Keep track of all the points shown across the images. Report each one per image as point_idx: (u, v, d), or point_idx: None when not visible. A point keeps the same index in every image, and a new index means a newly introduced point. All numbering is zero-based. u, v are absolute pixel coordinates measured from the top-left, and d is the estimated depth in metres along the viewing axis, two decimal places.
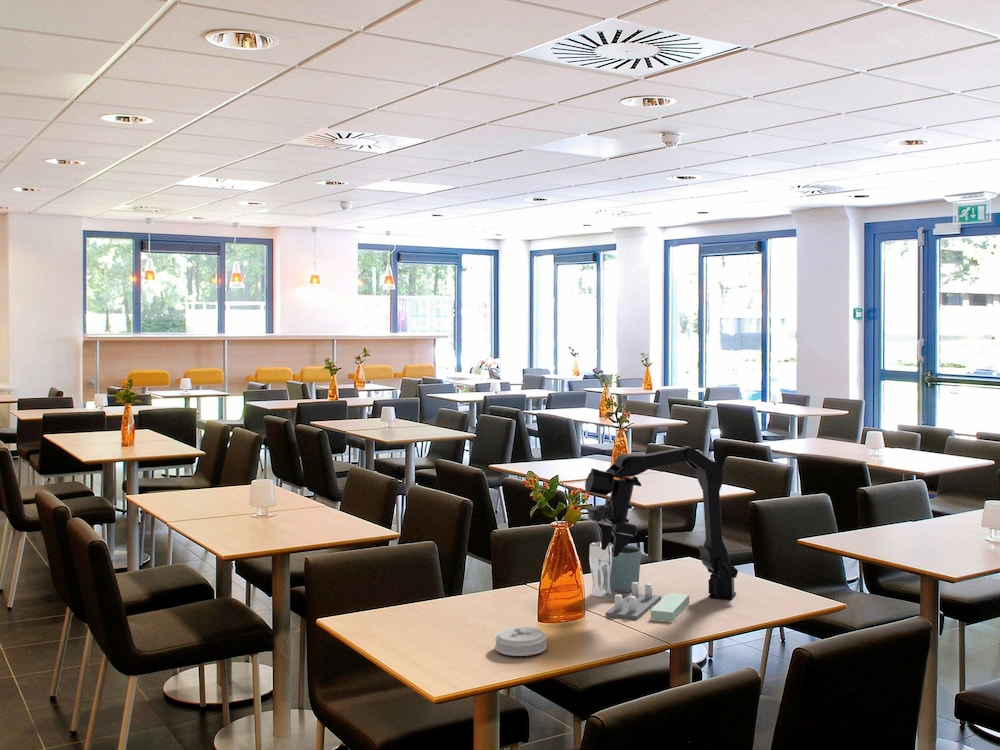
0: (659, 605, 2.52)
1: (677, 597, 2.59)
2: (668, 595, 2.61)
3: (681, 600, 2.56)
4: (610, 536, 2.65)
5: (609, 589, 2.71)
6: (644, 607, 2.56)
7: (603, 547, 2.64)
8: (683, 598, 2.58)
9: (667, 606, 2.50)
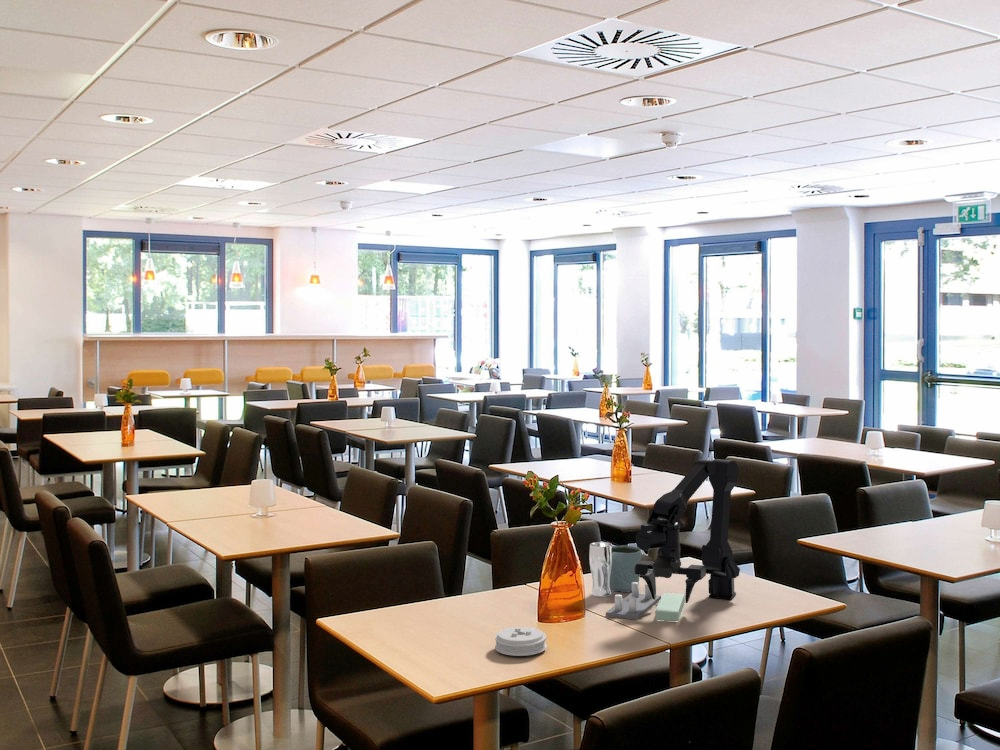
0: (661, 605, 2.52)
1: (675, 597, 2.59)
2: (664, 595, 2.61)
3: (680, 599, 2.57)
4: (655, 583, 2.58)
5: (609, 589, 2.71)
6: (644, 607, 2.56)
7: (654, 597, 2.56)
8: (681, 597, 2.59)
9: (670, 607, 2.50)
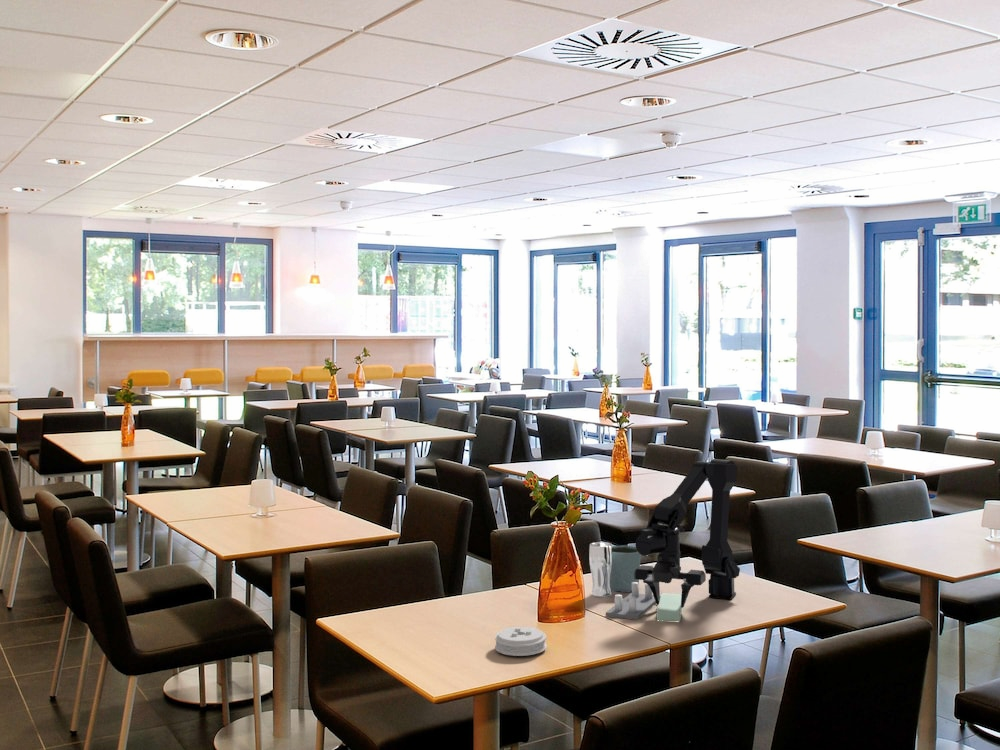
0: (662, 606, 2.51)
1: (674, 597, 2.59)
2: (663, 595, 2.61)
3: (679, 600, 2.57)
4: (658, 588, 2.57)
5: (609, 589, 2.71)
6: (644, 607, 2.56)
7: (658, 602, 2.56)
8: (680, 598, 2.59)
9: (671, 607, 2.50)
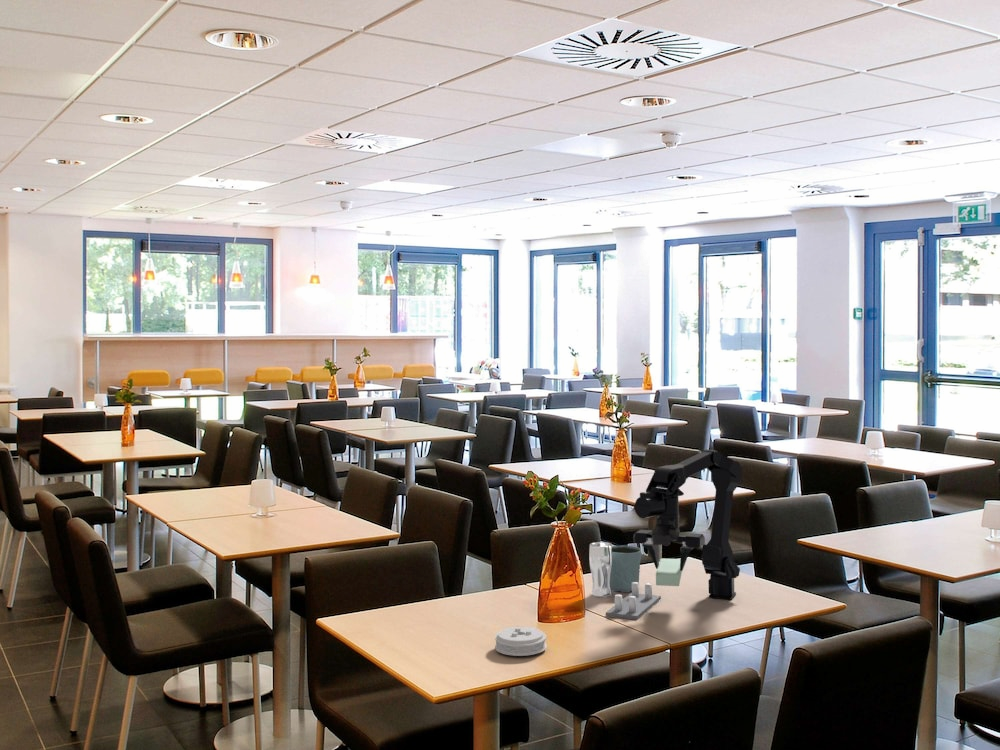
0: (661, 569, 2.51)
1: (673, 562, 2.59)
2: (662, 560, 2.61)
3: (678, 564, 2.56)
4: (658, 553, 2.57)
5: (609, 589, 2.71)
6: (644, 607, 2.56)
7: (657, 566, 2.55)
8: (679, 562, 2.58)
9: (670, 570, 2.50)
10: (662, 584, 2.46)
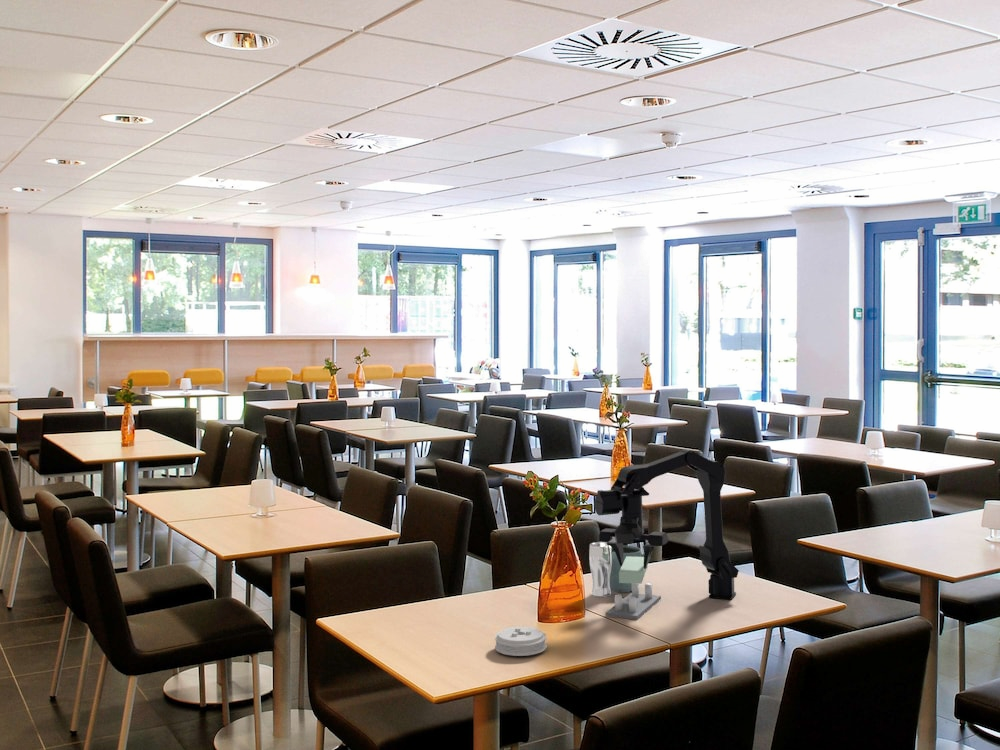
0: (624, 567, 2.56)
1: (637, 560, 2.64)
2: (627, 558, 2.66)
3: (643, 562, 2.61)
4: (622, 551, 2.62)
5: (609, 589, 2.71)
6: (644, 607, 2.56)
7: (622, 564, 2.60)
8: (643, 560, 2.63)
9: (633, 568, 2.54)
10: (625, 582, 2.51)
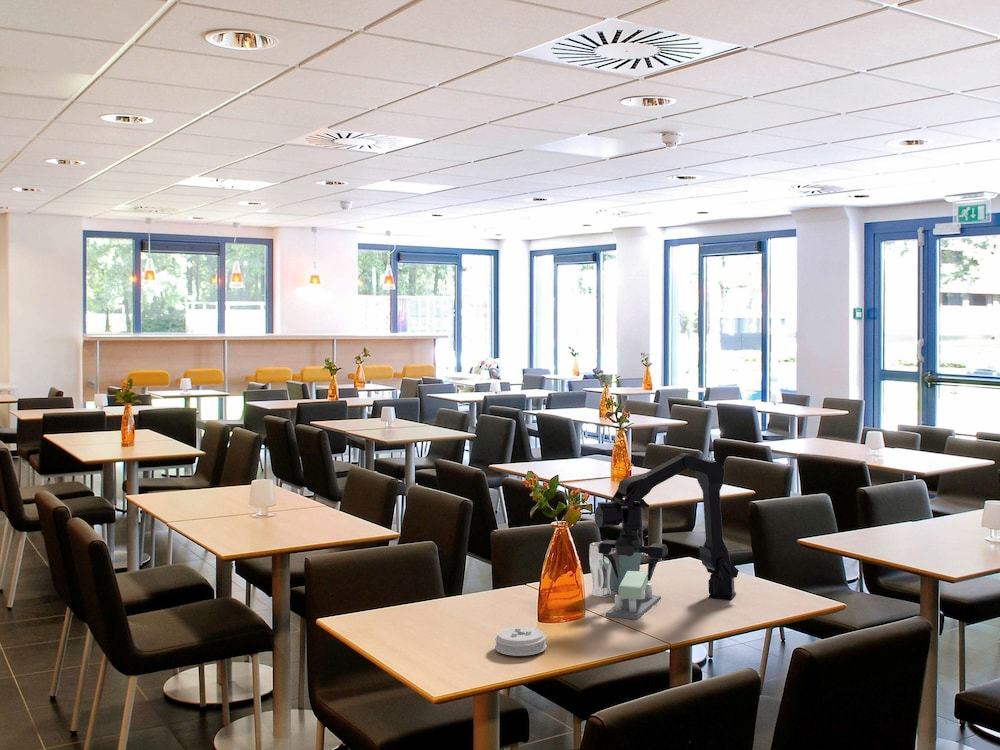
0: (625, 582, 2.56)
1: (638, 574, 2.64)
2: (628, 573, 2.66)
3: (643, 577, 2.61)
4: (618, 562, 2.62)
5: (609, 589, 2.71)
6: (644, 607, 2.56)
7: (618, 575, 2.61)
8: (644, 575, 2.63)
9: (633, 583, 2.55)
10: (625, 597, 2.51)
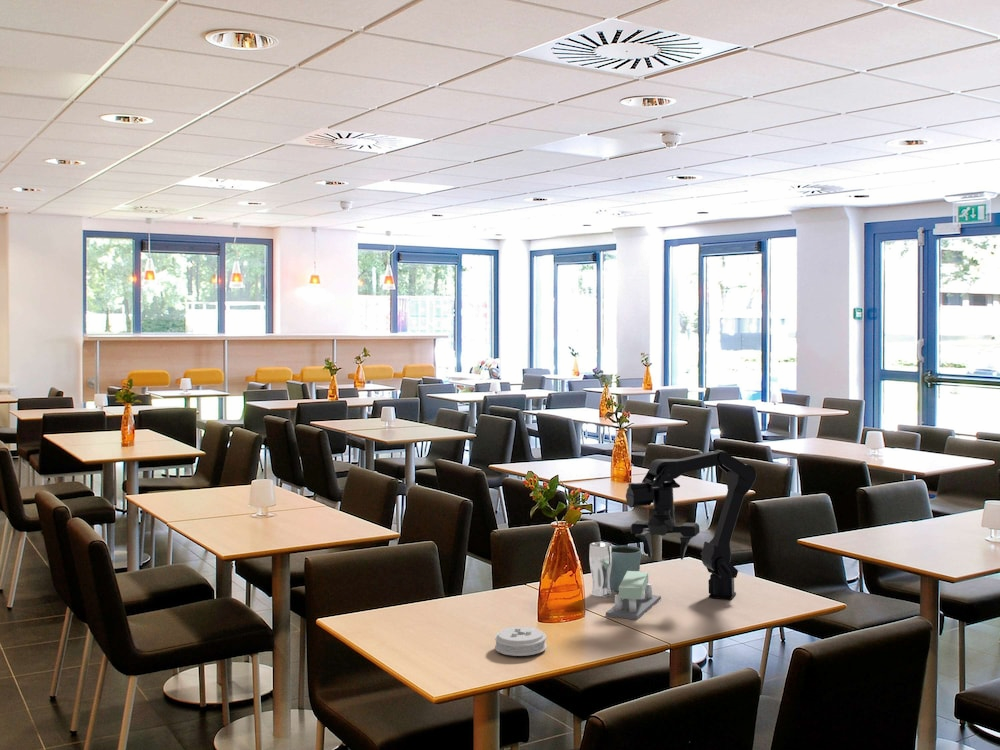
0: (625, 582, 2.56)
1: (638, 574, 2.64)
2: (628, 573, 2.66)
3: (643, 577, 2.61)
4: (650, 542, 2.67)
5: (609, 589, 2.71)
6: (644, 607, 2.56)
7: (651, 555, 2.65)
8: (644, 575, 2.63)
9: (633, 583, 2.55)
10: (625, 597, 2.51)
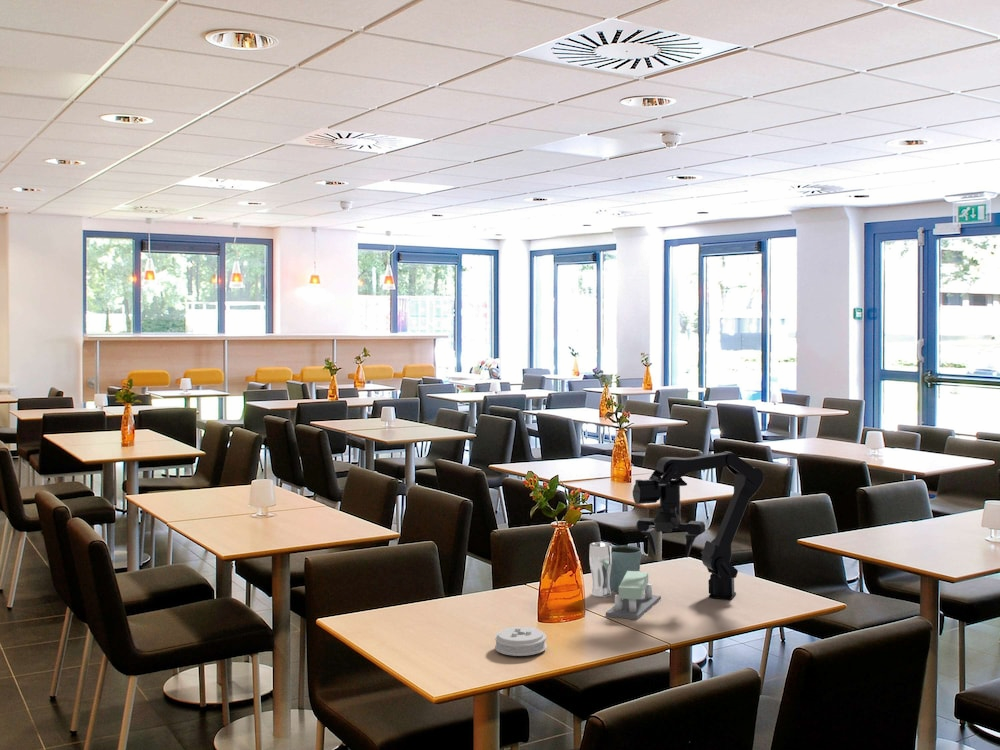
0: (625, 582, 2.56)
1: (638, 574, 2.64)
2: (628, 573, 2.66)
3: (643, 577, 2.61)
4: (656, 539, 2.67)
5: (609, 589, 2.71)
6: (644, 607, 2.56)
7: (656, 552, 2.66)
8: (644, 575, 2.63)
9: (633, 583, 2.55)
10: (625, 597, 2.51)
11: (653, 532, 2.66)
